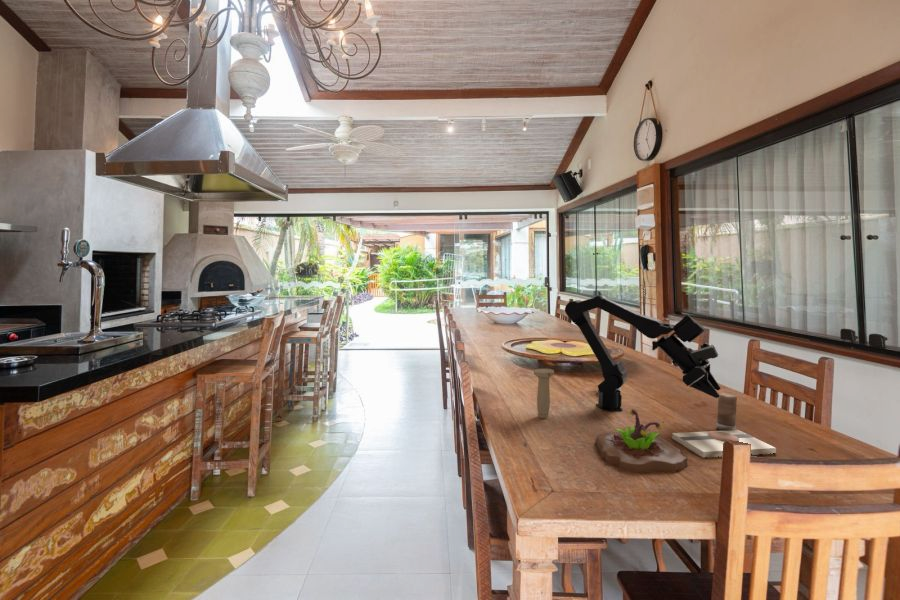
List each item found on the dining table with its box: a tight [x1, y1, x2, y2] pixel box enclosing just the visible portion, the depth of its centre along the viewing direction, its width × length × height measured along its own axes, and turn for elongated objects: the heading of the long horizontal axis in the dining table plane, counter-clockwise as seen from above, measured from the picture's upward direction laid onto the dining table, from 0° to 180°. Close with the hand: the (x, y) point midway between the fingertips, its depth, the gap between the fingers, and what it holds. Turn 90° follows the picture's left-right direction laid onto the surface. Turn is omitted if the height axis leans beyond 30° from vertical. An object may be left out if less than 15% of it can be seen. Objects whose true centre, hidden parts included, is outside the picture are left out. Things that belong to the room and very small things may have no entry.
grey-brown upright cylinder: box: [716, 393, 738, 431], centre depth 122 cm, size 5×5×10 cm
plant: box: [595, 409, 688, 474], centre depth 106 cm, size 20×20×11 cm
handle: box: [533, 368, 555, 420], centre depth 132 cm, size 5×6×15 cm
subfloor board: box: [671, 429, 777, 459], centre depth 111 cm, size 20×12×2 cm, turn 96°
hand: (718, 393), depth 123 cm, fingers open, 9 cm apart
